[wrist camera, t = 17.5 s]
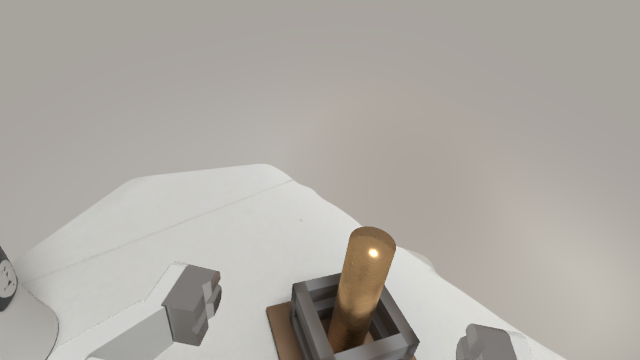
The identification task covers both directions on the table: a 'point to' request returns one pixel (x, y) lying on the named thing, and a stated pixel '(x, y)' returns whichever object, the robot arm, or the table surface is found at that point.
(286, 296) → the table surface
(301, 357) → the collar stand
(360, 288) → the copper tube
